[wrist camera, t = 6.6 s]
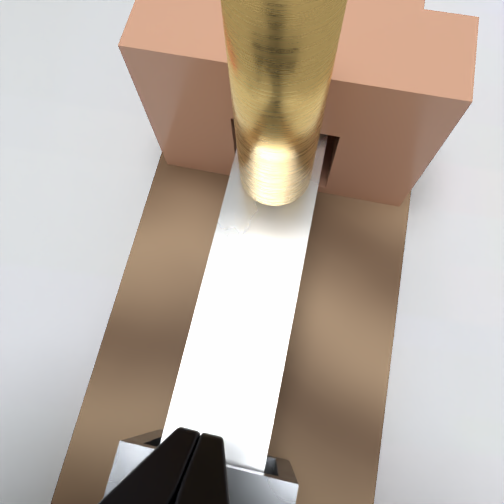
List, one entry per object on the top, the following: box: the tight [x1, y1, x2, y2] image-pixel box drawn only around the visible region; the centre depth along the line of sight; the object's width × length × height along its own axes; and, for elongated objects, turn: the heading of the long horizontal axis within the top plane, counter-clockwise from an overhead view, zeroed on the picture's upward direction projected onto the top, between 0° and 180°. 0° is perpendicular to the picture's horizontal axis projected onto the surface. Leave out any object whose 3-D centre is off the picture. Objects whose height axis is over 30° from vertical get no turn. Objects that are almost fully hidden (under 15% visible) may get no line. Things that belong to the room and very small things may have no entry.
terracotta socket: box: [118, 0, 479, 206], centre depth 17 cm, size 5×10×7 cm, turn 78°
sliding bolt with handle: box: [160, 0, 347, 473], centre depth 12 cm, size 14×3×11 cm, turn 168°
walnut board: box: [51, 153, 411, 504], centre depth 17 cm, size 28×11×1 cm, turn 168°
